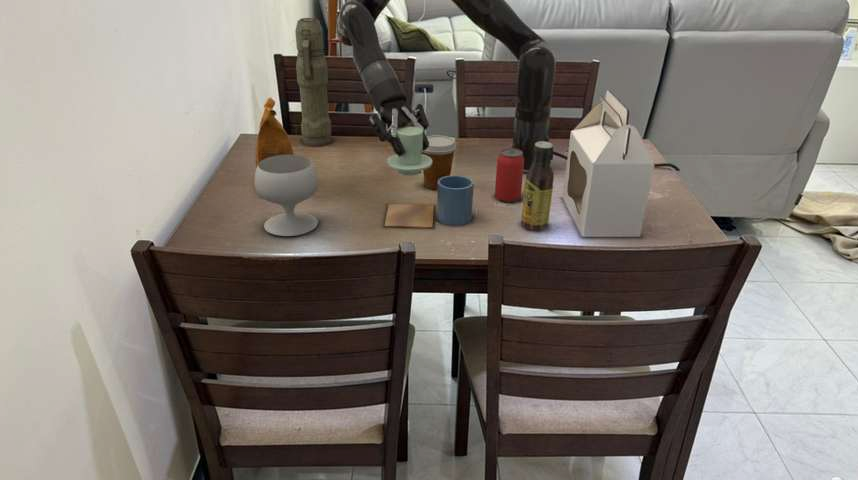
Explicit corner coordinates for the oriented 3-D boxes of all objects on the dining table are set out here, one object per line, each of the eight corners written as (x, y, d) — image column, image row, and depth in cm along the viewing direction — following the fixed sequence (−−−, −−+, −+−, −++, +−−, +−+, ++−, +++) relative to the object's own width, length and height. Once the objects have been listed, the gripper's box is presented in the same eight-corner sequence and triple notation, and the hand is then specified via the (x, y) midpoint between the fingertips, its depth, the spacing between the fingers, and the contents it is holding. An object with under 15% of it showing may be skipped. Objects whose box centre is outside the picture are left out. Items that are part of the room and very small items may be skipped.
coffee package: (297, 177, 180) (289, 94, 168) (297, 195, 169) (289, 109, 158) (259, 179, 178) (249, 96, 167) (257, 198, 168) (246, 111, 156)
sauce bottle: (518, 220, 158) (525, 138, 148) (544, 219, 158) (553, 138, 148) (524, 232, 152) (532, 148, 142) (551, 232, 153) (561, 148, 143)
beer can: (523, 194, 171) (527, 149, 165) (517, 204, 166) (521, 158, 160) (497, 190, 173) (501, 146, 167) (491, 200, 168) (494, 154, 161)
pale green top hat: (432, 163, 158) (433, 123, 153) (431, 180, 149) (432, 139, 144) (388, 162, 158) (388, 122, 153) (384, 179, 149) (384, 137, 144)
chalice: (324, 236, 150) (319, 173, 142) (260, 242, 147) (252, 178, 140) (319, 210, 162) (314, 150, 154) (259, 215, 159) (252, 154, 151)
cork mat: (433, 206, 164) (433, 205, 164) (432, 228, 154) (432, 226, 154) (388, 205, 165) (388, 203, 164) (384, 227, 154) (384, 225, 154)
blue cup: (471, 210, 162) (472, 175, 158) (472, 225, 155) (473, 189, 151) (437, 209, 163) (438, 174, 158) (436, 224, 156) (437, 188, 151)
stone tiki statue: (300, 148, 199) (289, 23, 181) (304, 135, 209) (294, 15, 191) (330, 147, 200) (322, 23, 182) (333, 134, 210) (325, 15, 192)
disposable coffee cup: (451, 193, 171) (453, 148, 165) (415, 190, 173) (415, 145, 166) (457, 179, 179) (459, 136, 173) (422, 176, 181) (423, 133, 175)
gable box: (561, 197, 169) (576, 85, 155) (613, 197, 170) (632, 86, 155) (582, 238, 150) (600, 114, 136) (640, 237, 151) (665, 114, 136)
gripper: (401, 90, 159) (431, 153, 157) (350, 100, 151) (381, 166, 149) (415, 72, 152) (447, 137, 150) (362, 81, 145) (394, 150, 143)
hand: (414, 151), depth 150 cm, fingers closed on pale green top hat, 6 cm apart
